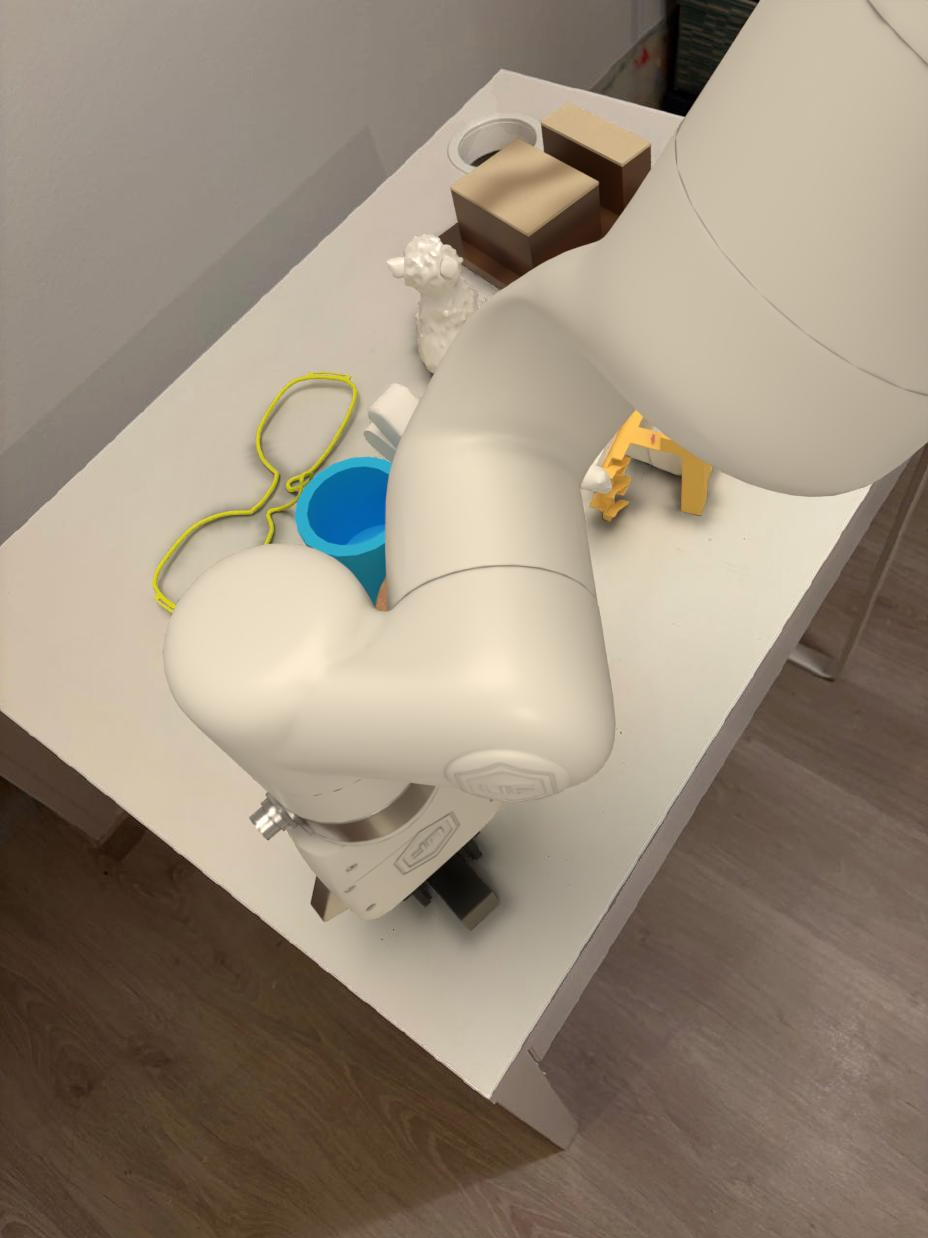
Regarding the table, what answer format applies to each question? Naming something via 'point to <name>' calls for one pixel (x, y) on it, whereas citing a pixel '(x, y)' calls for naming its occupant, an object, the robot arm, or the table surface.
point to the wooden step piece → (598, 153)
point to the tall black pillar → (463, 891)
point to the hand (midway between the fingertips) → (438, 862)
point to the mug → (349, 517)
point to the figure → (651, 448)
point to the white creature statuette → (435, 294)
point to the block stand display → (523, 213)
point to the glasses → (290, 489)
